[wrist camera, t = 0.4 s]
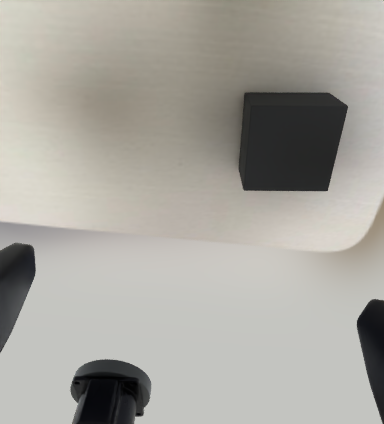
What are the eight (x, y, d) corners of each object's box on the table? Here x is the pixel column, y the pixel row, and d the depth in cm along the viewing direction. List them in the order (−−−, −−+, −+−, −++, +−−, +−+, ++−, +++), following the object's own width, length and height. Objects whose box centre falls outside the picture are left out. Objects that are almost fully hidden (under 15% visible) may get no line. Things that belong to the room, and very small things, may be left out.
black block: (313, 170, 22) (328, 191, 20) (238, 169, 22) (243, 191, 20) (329, 92, 20) (348, 106, 17) (244, 92, 20) (251, 105, 17)
